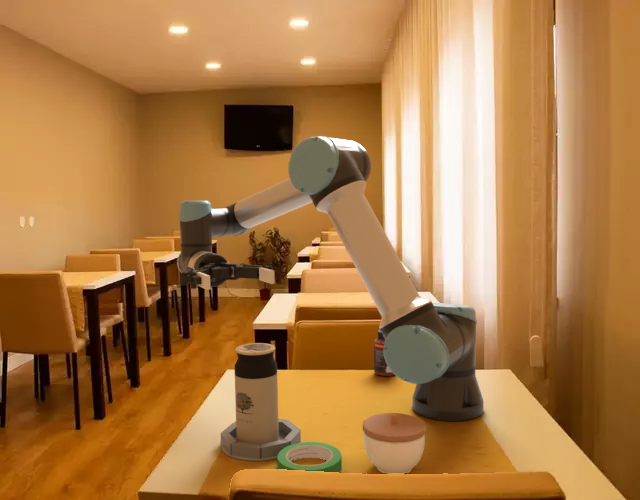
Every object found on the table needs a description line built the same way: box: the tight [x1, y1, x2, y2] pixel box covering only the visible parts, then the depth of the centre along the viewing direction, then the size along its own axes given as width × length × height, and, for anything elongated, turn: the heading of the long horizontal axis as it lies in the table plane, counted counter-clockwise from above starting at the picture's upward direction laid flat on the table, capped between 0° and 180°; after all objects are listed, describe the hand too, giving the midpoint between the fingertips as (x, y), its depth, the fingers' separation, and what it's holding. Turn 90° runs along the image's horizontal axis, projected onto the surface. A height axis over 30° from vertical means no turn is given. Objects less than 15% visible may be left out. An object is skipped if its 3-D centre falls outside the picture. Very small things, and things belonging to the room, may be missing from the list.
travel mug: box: [234, 342, 279, 444], centre depth 116 cm, size 8×8×18 cm
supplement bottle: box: [373, 329, 396, 377], centre depth 159 cm, size 6×6×11 cm
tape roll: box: [276, 441, 343, 473], centre depth 106 cm, size 11×11×3 cm
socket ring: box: [220, 418, 302, 462], centre depth 116 cm, size 15×15×2 cm
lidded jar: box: [362, 412, 427, 474], centre depth 105 cm, size 11×11×9 cm
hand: (241, 280), depth 122 cm, fingers open, 13 cm apart
